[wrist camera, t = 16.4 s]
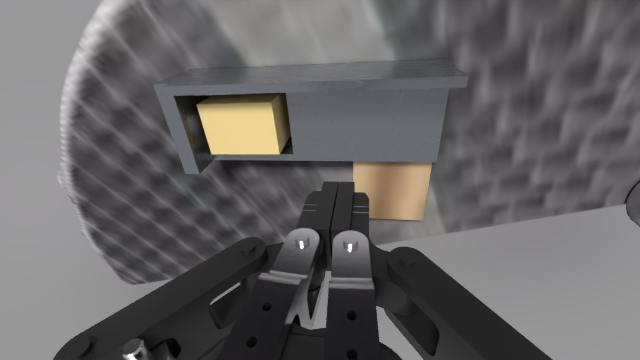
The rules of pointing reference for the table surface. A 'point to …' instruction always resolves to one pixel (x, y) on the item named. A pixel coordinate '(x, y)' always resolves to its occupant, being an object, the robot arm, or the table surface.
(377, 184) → the pad
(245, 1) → the table surface
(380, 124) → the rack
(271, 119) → the yellow block with dome
